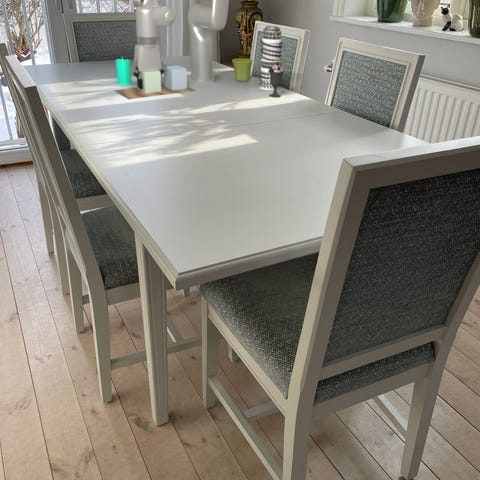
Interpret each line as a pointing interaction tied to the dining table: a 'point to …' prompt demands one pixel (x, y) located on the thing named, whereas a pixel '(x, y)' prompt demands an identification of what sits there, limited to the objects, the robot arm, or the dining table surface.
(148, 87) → the pale green block
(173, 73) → the blue cover
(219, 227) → the dining table surface
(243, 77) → the plant pot
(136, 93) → the board
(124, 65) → the candle
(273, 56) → the decorative candle
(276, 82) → the sundae
